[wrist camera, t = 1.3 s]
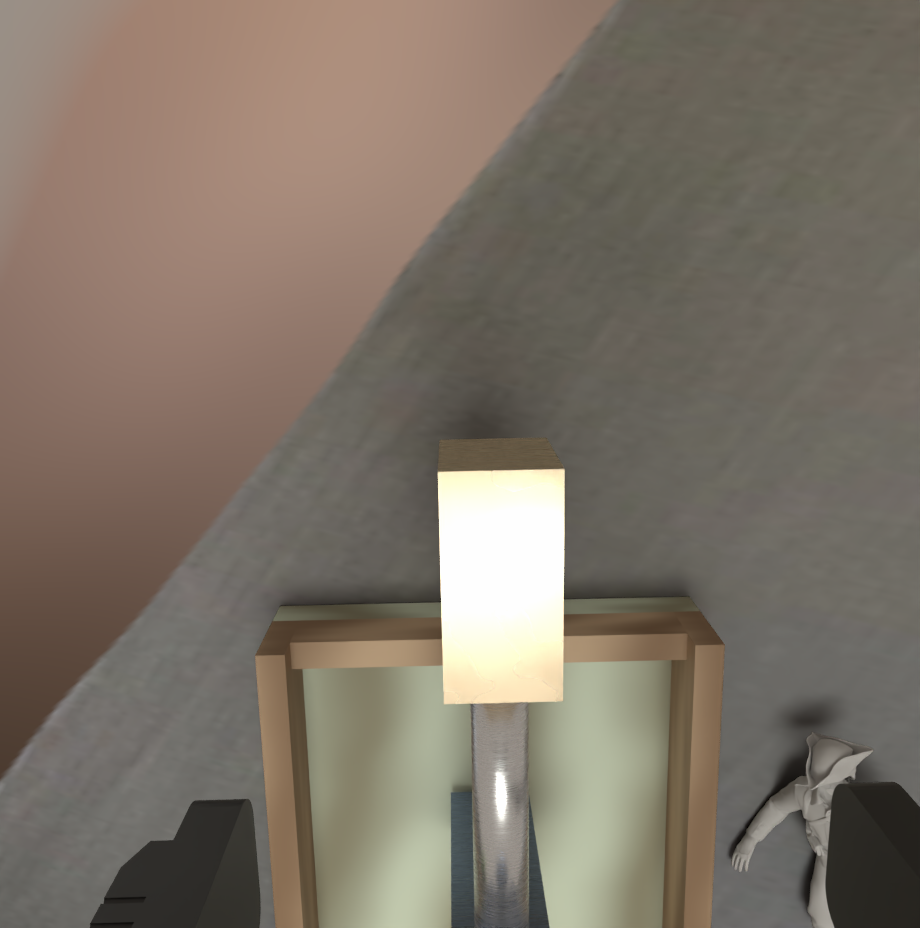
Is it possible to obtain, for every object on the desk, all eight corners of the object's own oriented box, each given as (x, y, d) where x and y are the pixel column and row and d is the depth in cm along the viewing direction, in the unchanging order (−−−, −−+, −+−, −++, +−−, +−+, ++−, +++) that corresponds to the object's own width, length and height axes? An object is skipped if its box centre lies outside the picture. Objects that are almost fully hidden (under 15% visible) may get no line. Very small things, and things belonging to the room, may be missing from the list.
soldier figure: (756, 955, 39) (689, 797, 33) (795, 861, 42) (739, 699, 36) (949, 1047, 34) (911, 879, 28) (979, 932, 36) (951, 756, 30)
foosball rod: (527, 405, 30) (574, 486, 19) (528, 842, 34) (568, 1130, 23) (441, 407, 30) (437, 489, 19) (452, 844, 34) (453, 1133, 23)
